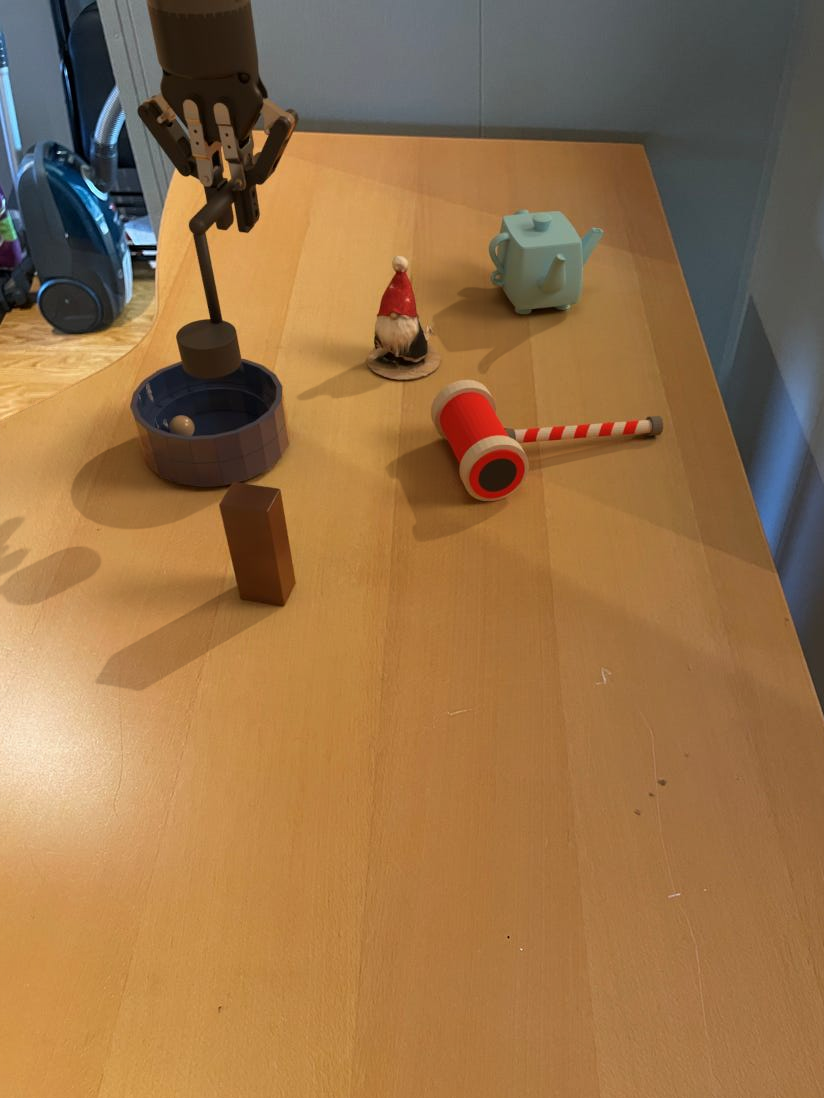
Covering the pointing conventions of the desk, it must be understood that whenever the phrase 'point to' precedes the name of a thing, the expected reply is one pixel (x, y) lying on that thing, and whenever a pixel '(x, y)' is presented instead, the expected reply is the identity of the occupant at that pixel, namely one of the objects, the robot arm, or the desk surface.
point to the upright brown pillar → (258, 542)
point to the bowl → (212, 424)
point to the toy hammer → (504, 438)
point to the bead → (181, 426)
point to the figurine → (401, 332)
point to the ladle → (209, 304)
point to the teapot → (541, 260)
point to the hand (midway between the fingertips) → (236, 227)
